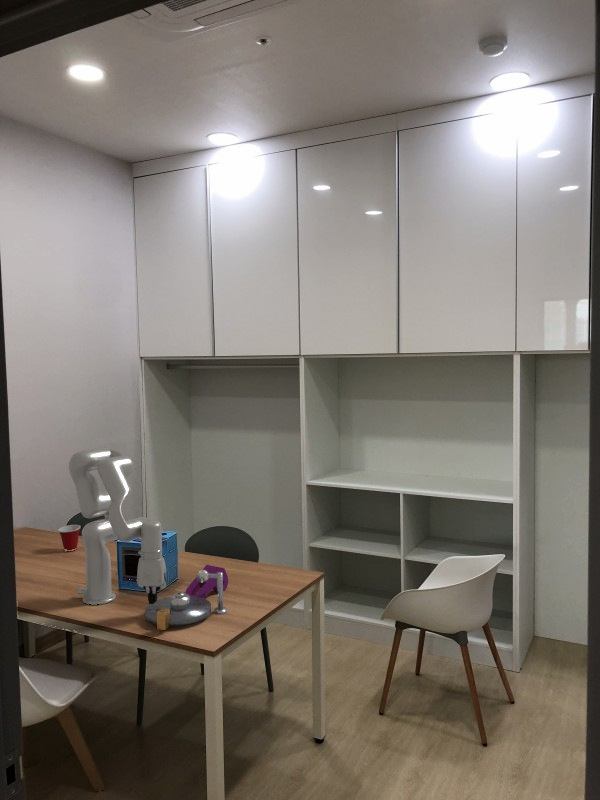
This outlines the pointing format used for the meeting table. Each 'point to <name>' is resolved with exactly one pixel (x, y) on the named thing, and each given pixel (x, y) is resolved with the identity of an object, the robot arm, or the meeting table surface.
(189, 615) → the turntable
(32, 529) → the meeting table surface
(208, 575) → the dial post
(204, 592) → the mounting bracket
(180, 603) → the cover
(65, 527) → the plastic cup
